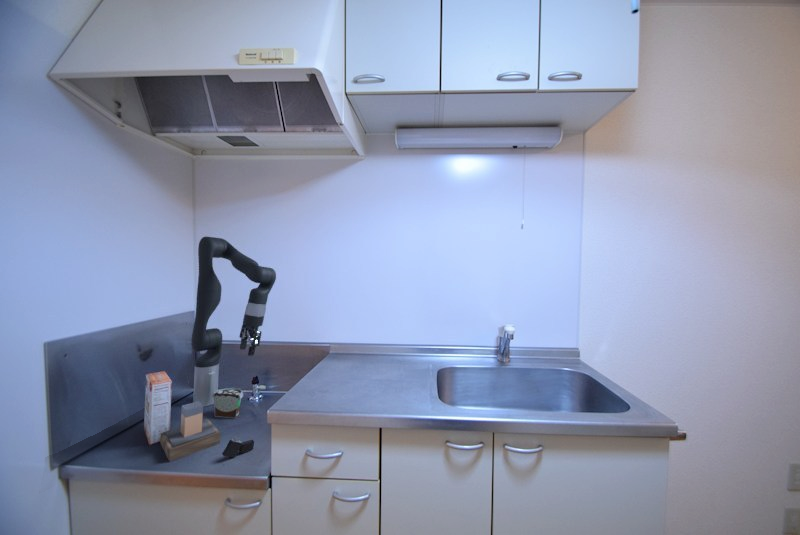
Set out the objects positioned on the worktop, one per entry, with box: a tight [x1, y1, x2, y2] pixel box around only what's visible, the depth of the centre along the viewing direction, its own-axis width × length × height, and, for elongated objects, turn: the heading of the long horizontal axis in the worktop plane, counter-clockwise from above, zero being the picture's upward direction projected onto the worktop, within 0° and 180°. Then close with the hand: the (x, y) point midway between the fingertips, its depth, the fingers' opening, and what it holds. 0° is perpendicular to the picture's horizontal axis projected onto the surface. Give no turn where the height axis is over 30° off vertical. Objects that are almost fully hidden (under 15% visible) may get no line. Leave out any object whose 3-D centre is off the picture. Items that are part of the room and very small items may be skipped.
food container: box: [212, 387, 244, 419], centre depth 122 cm, size 12×6×10 cm, turn 84°
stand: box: [159, 418, 221, 462], centre depth 100 cm, size 14×14×4 cm
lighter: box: [221, 435, 255, 458], centre depth 96 cm, size 9×2×6 cm
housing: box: [180, 401, 204, 437], centre depth 101 cm, size 5×5×9 cm
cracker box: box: [143, 370, 173, 446], centre depth 105 cm, size 14×6×21 cm, turn 47°
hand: (246, 352), depth 120 cm, fingers open, 8 cm apart
